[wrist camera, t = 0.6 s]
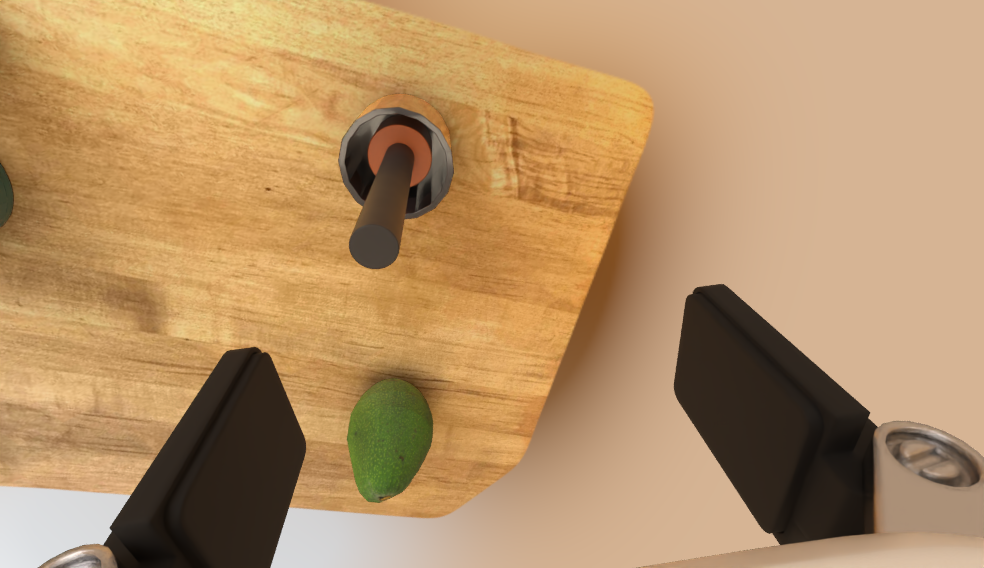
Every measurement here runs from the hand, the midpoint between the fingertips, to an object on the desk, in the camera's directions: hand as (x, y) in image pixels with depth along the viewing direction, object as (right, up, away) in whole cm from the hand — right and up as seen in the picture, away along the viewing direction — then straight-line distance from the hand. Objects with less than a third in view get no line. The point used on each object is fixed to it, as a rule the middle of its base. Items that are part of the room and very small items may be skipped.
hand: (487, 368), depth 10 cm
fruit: (-10, -9, +37) cm, 40 cm away
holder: (-7, +13, +25) cm, 29 cm away
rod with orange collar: (-7, +13, +25) cm, 28 cm away
